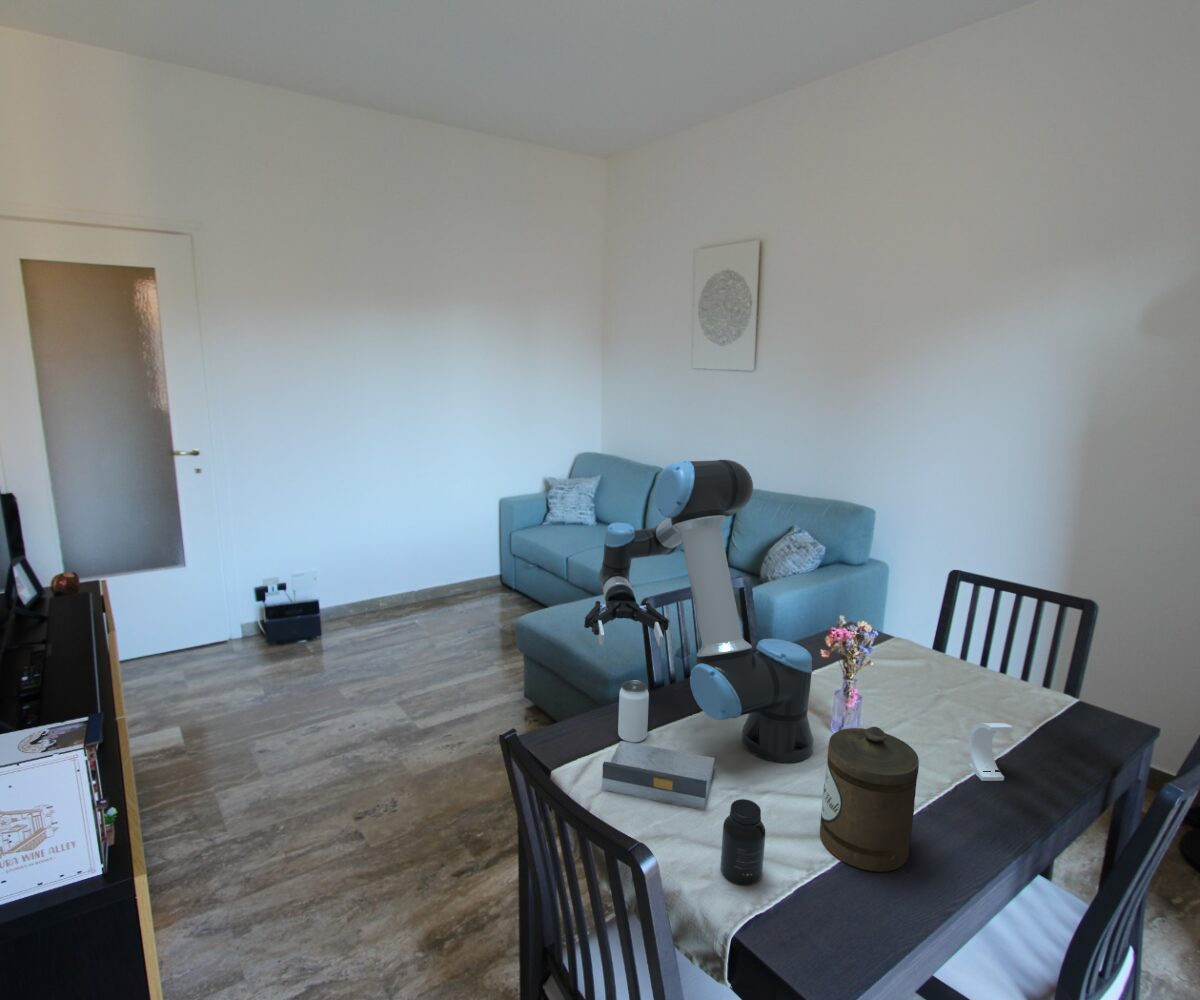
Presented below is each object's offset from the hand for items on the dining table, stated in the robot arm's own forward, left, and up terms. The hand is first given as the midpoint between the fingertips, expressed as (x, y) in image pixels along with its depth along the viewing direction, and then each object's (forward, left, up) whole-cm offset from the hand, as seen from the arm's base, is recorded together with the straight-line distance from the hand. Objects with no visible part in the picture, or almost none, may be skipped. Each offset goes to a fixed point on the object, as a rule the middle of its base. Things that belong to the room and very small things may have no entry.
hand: (631, 640), depth 160 cm
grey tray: (-12, +21, -19) cm, 31 cm away
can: (-3, +7, -20) cm, 21 cm away
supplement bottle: (-30, +42, -20) cm, 55 cm away
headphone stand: (-76, -3, -20) cm, 78 cm away
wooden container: (-50, +28, -20) cm, 60 cm away
